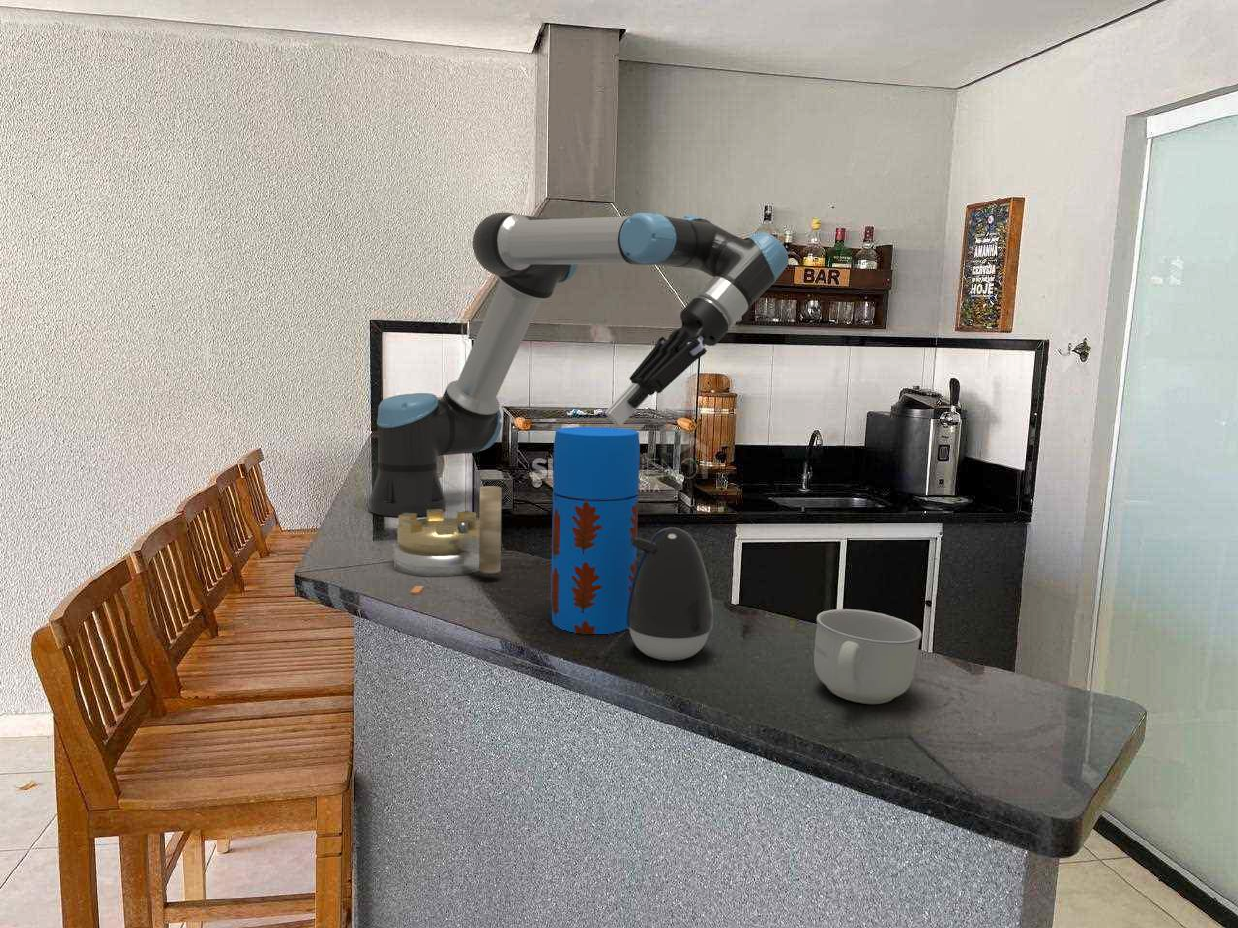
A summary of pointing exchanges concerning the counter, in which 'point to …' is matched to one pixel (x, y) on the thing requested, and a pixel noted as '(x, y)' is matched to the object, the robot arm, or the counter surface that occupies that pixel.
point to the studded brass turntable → (457, 532)
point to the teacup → (865, 654)
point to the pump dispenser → (669, 597)
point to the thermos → (594, 527)
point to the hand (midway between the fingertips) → (612, 419)
